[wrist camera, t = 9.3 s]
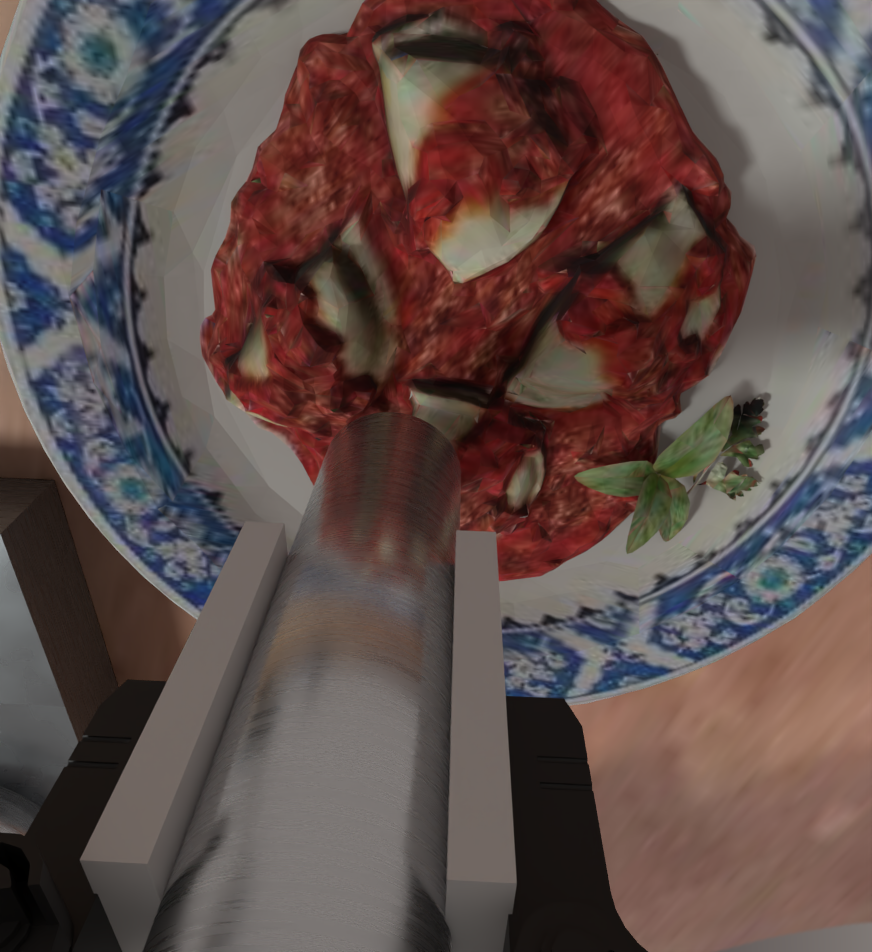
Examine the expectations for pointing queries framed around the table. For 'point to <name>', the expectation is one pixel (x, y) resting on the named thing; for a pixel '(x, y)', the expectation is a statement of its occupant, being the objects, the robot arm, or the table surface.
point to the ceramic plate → (461, 291)
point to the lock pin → (338, 724)
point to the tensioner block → (42, 649)
